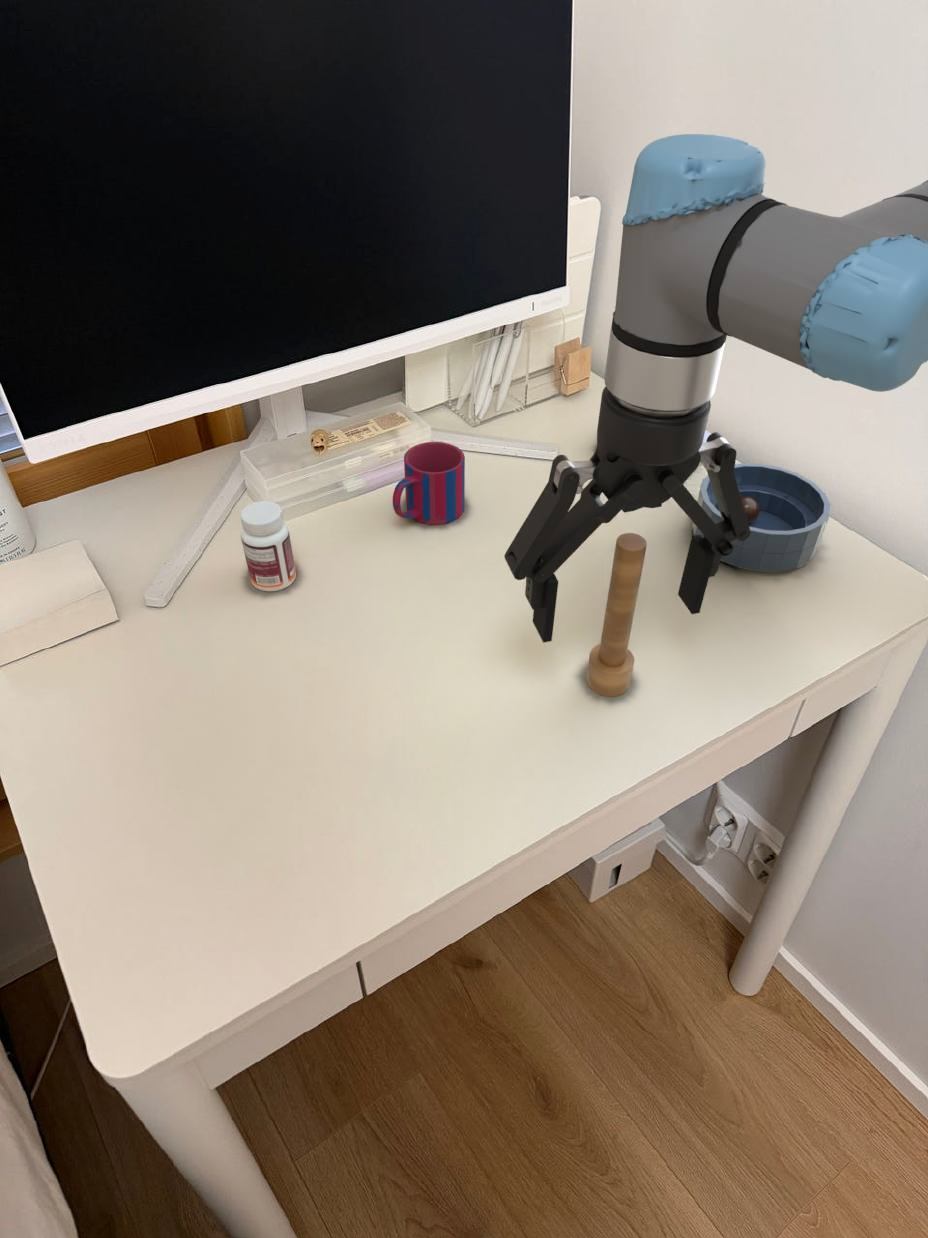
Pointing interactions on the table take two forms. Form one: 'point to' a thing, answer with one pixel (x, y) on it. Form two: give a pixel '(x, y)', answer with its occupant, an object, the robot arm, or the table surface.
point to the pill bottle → (267, 546)
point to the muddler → (618, 620)
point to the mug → (432, 483)
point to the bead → (750, 508)
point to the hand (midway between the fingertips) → (616, 617)
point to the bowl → (773, 518)
